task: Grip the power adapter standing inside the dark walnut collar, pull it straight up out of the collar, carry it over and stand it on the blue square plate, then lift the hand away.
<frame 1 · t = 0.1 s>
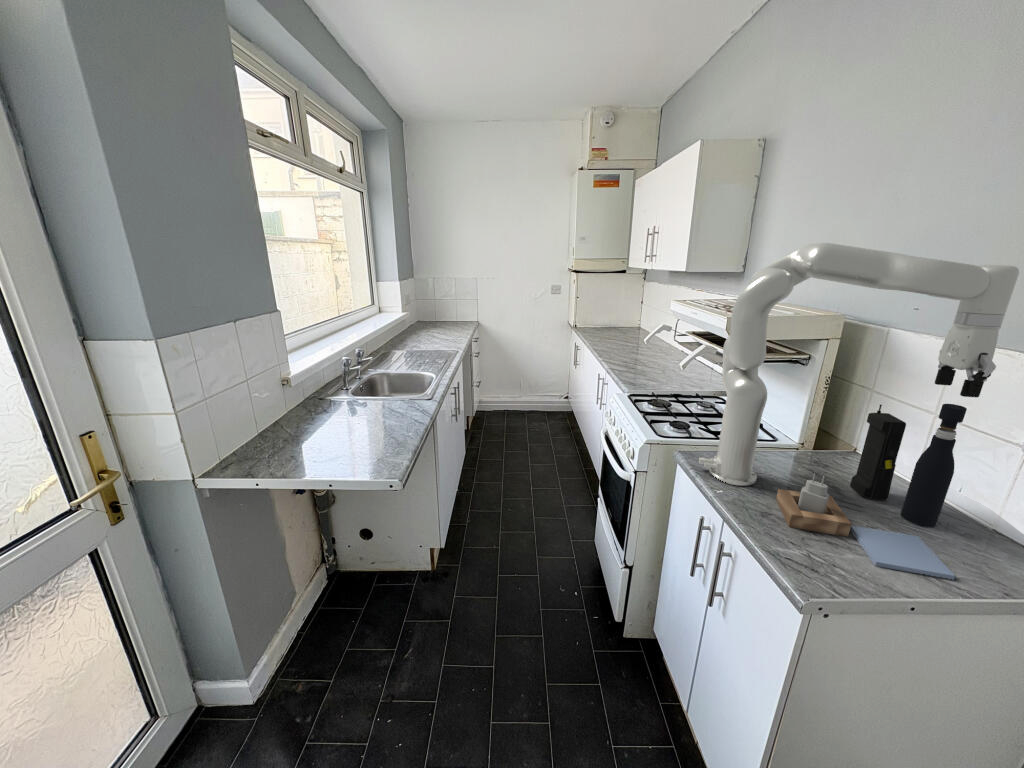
hand: (955, 390, 100), 31 cm above the countertop, tool pointing down, fingers open, 9 cm apart
portable radio: (869, 495, 113), on the countertop
power adapter: (809, 517, 103), resting in walnut collar
walnut collar: (809, 517, 103), on the countertop
black water bottle: (917, 520, 102), on the countertop
blue square plate: (896, 552, 91), on the countertop
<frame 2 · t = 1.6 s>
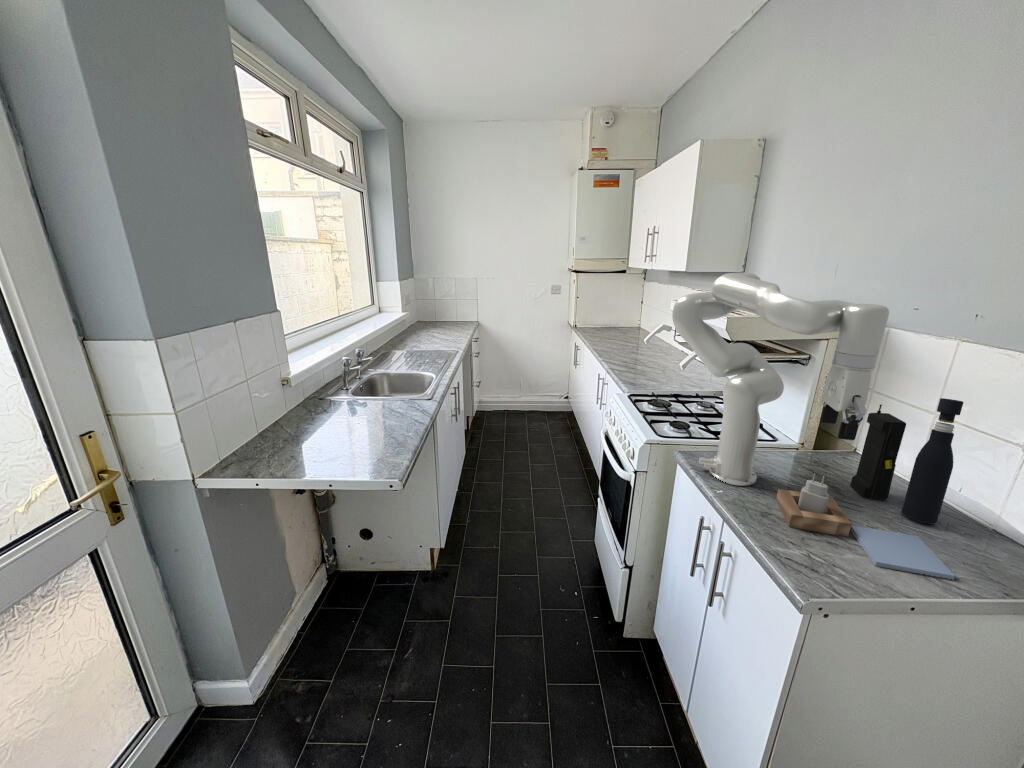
hand: (836, 430, 97), 24 cm above the countertop, tool pointing down, fingers open, 9 cm apart
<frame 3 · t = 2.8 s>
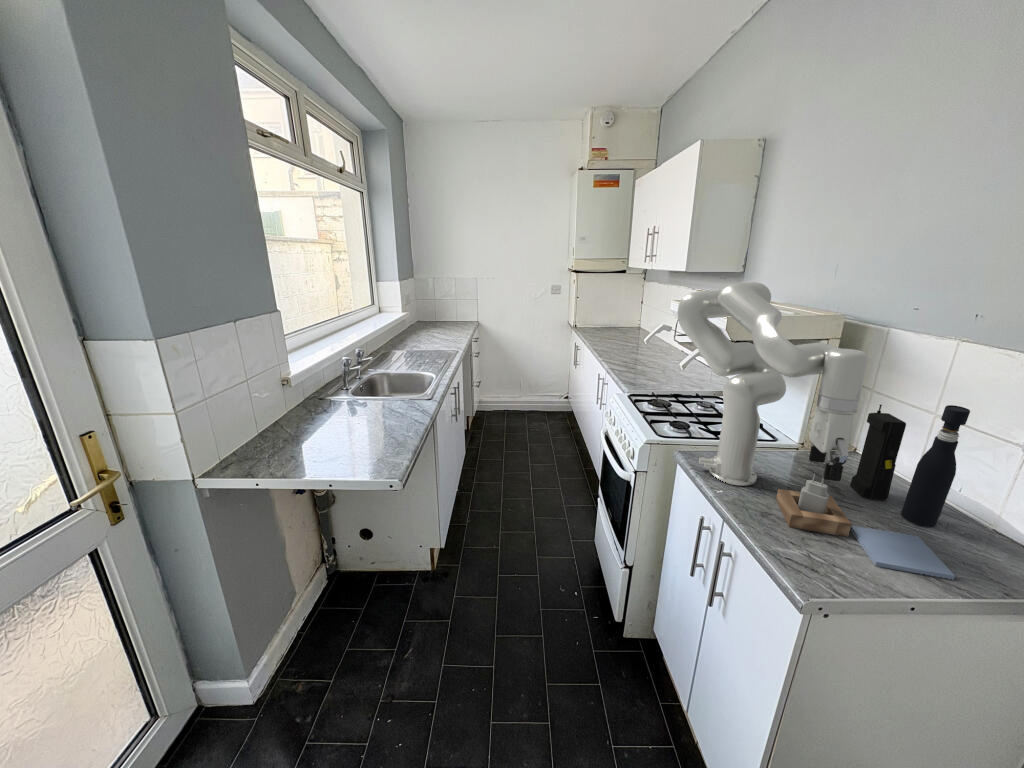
hand: (823, 470, 99), 14 cm above the countertop, tool pointing down, fingers open, 9 cm apart
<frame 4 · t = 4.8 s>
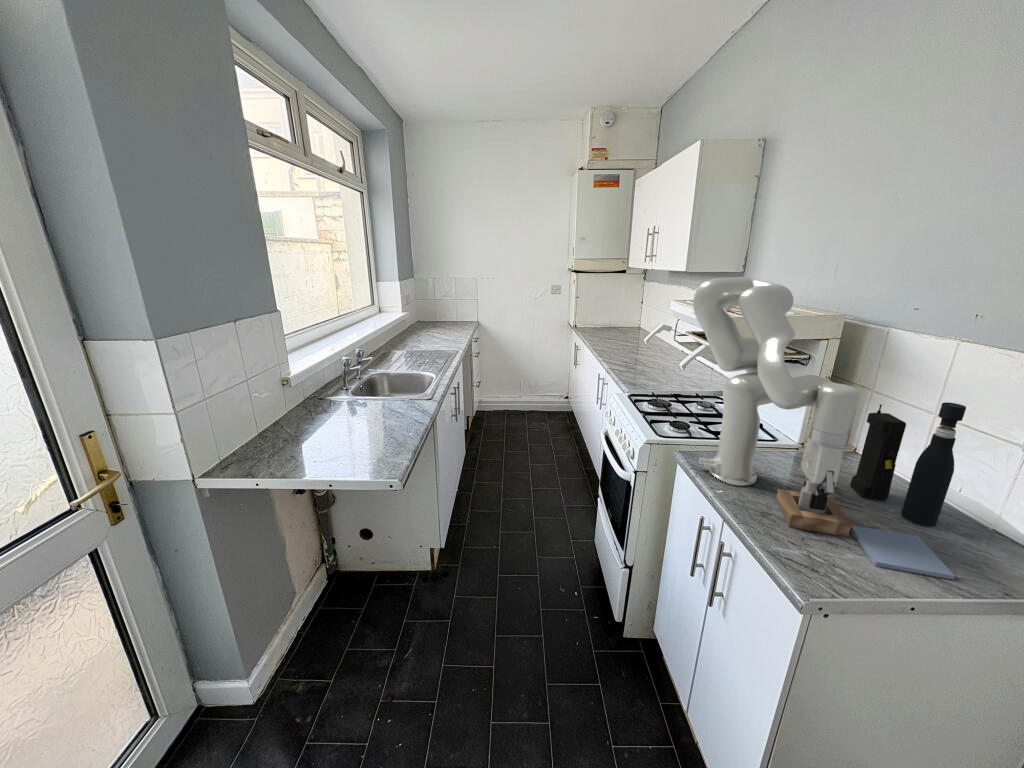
hand: (812, 501, 102), 4 cm above the countertop, tool pointing down, fingers closed on power adapter, 4 cm apart
power adapter: (809, 517, 103), resting in walnut collar, touching gripper
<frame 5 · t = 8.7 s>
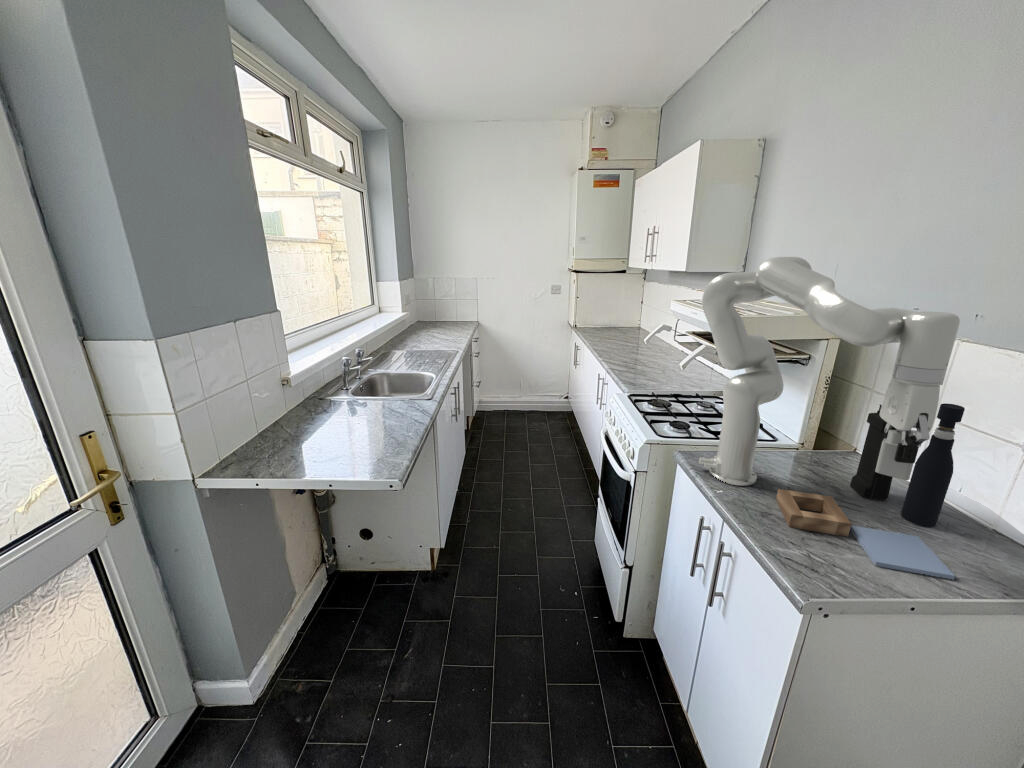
hand: (897, 455, 87), 22 cm above the countertop, tool pointing down, fingers closed on power adapter, 4 cm apart
power adapter: (891, 474, 89), point 17 cm above the countertop, touching gripper
when the fingers open (6 cm above the countertop, at t = 12.7 s): power adapter stays where it is, resting on blue square plate.
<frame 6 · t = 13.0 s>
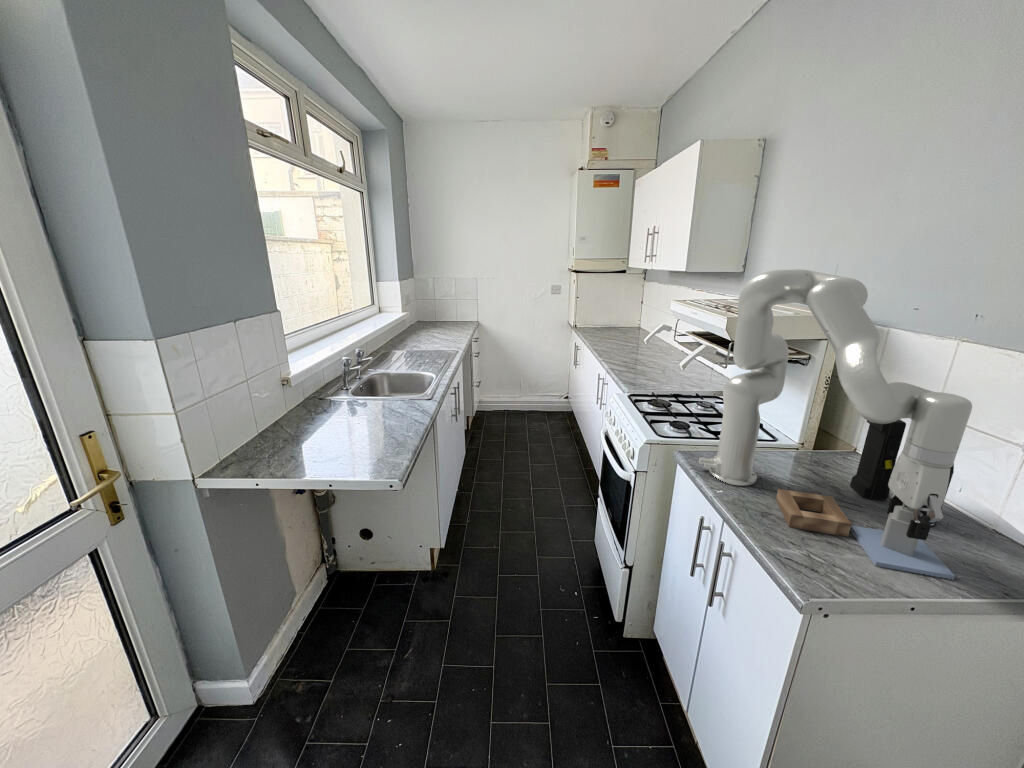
hand: (905, 525, 89), 7 cm above the countertop, tool pointing down, fingers open, 7 cm apart
power adapter: (896, 548, 91), point 1 cm above the countertop, touching blue square plate
everything else where it was.
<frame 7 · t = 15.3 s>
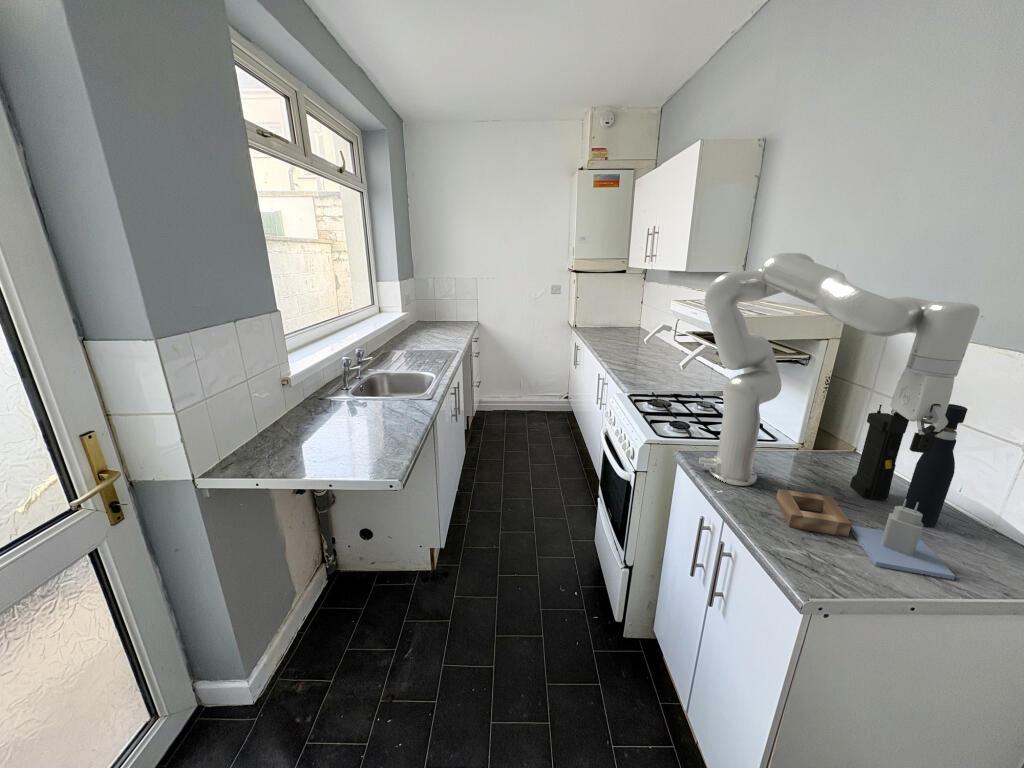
hand: (906, 441, 88), 25 cm above the countertop, tool pointing down, fingers open, 9 cm apart
nothing on the countertop moved.
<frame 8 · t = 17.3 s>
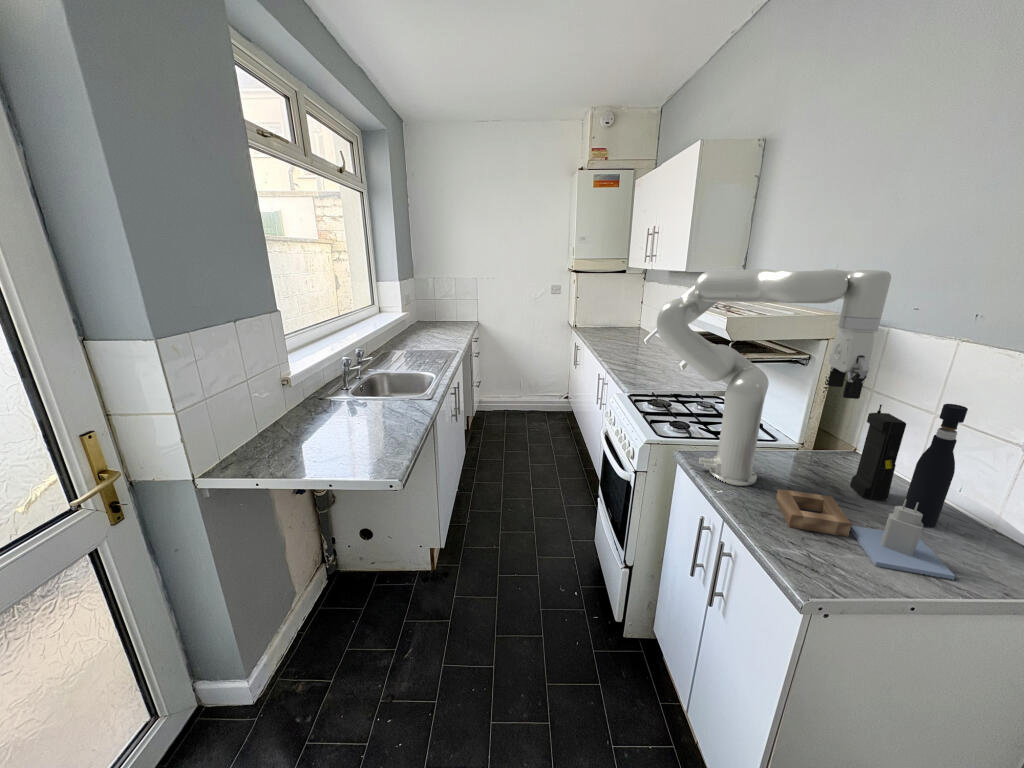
hand: (842, 391, 103), 30 cm above the countertop, tool pointing down, fingers open, 9 cm apart
nothing on the countertop moved.
at the end: power adapter inside the target area on the blue square plate (0.2 cm from its centre), point 0.8 cm above the blue square plate's base; power adapter tilted 0°; the gripper is holding nothing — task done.
